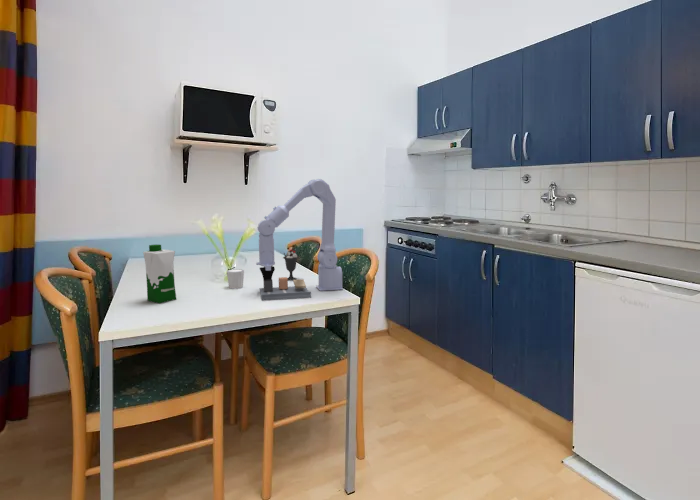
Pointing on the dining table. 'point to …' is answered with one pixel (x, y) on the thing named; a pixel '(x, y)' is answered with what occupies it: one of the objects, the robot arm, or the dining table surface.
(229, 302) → the dining table surface
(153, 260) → the milk carton
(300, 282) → the block
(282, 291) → the panel
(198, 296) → the dining table surface
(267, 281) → the black knob
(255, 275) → the dining table surface
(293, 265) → the sundae
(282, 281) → the terracotta knob
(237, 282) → the grey tapered cup
